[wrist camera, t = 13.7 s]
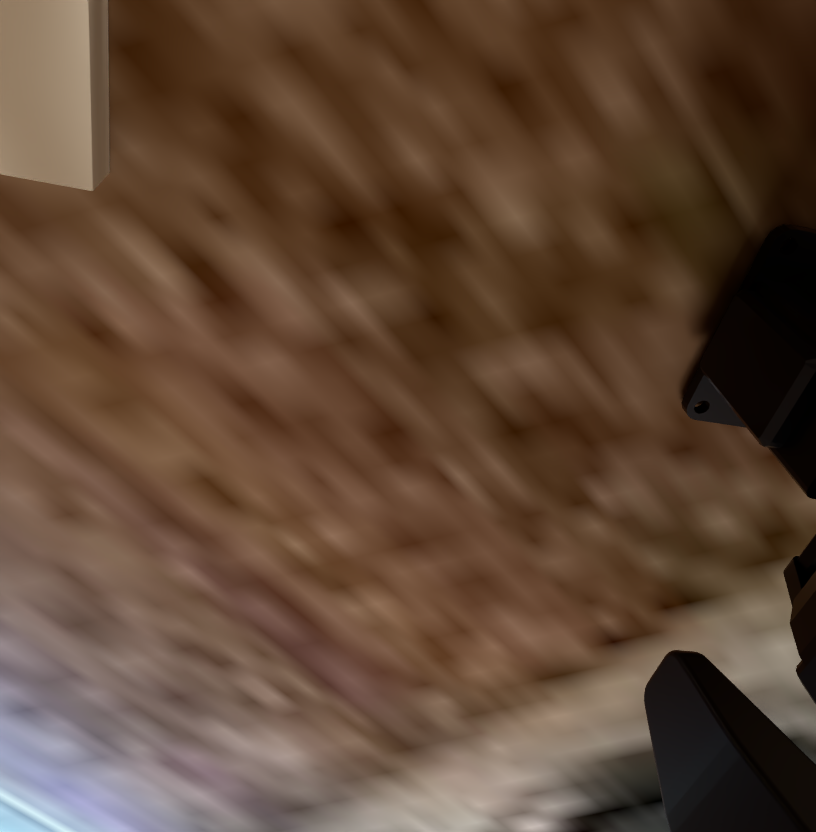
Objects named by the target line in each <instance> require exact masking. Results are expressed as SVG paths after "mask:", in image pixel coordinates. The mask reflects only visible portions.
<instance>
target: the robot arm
mask: <svg viewBox="0 0 816 832" xmlns="http://www.w3.org/2000/svg"><path fill="white" fill-rule="evenodd" d="M788 238H791V240H790V243H789V244H788V246H787V247H785V248H784V249H782V250H780V246H781V244H782V243H783V242H784V241H785V240H787V239H788ZM700 401H704V402H703V403H702V404H701V405H699V406H697V407H695V405H696V404H697V403H698V402H700ZM682 408H683V409H684V411H685V412H686V413H687V415H688V416H689V417H690V418H692V419H694V420H700V421H707V422H714V423H720V424H727V425H734V426H740V427H747V429H748V430H749V431H750V432H751V434H752V435H753V436H754V437H755V439H756V440H757V441H758V442H759V444H760V445H762V446H764V447H768V448H769V450H770V451H771V452H772V453H773V455H774V456H775V457H776V458H777V460H778V461H779V462H780V463H781V464H782V466H783V467H784V468H785V469H786V471H787V472H788V473H789V474H790V476H791V477H792V478H793V479H794V480H795V482H796V483H797V484H798V485H799V487H800V488H801V489H802V490H803V492H804V493H805V494H806V495H807V496H808V497H809V498H812V499H816V230H814V229H809V228H804V227H800V226H795V225H782V226H779V227H777V228H775V229H774V230H773V231H771V232H770V234H769V235H768V236H767V238H766V239H765V241H764V243H763V245H762V247H761V249H760V251H759V253H758V255H757V257H756V259H755V261H754V263H753V264H752V266H751V268H750V270H749V272H748V274H747V276H746V278H745V280H744V282H743V284H742V286H741V288H740V290H739V291H738V293H737V294H736V295H735V296H734V298H733V300H732V302H731V303H730V305H729V307H728V309H727V311H726V313H725V315H724V317H723V319H722V321H721V323H720V325H719V327H718V329H717V331H716V332H715V334H714V336H713V338H712V340H711V342H710V344H709V346H708V348H707V350H706V352H705V354H704V356H703V358H702V359H701V361H700V367H699V368H698V370H697V372H696V374H695V376H694V378H693V380H692V382H691V384H690V386H689V388H688V390H687V392H686V394H685V395H684V397H683V400H682ZM784 577H785V581H786V584H787V588H788V592H789V596H790V600H791V603H792V613H791V619H790V626H791V629H792V632H793V636H794V639H795V643H796V646H797V649H798V653H799V656H800V658H801V659H802V661H801V662H800V663H799V664H798V665H797V668H796V672H797V675H798V677H799V679H800V681H801V683H802V684H803V686H804V687H805V689H806V690H807V692H808V694H809V695H810V697H811V698H812V700H813V701H814V703H815V704H816V534H815V536H814V537H813V538H812V540H811V541H810V543H809V544H808V545H807V547H806V548H805V549H804V551H803V552H802V553H801V555H800V556H795V557H794V558H793V559H792V560H791V562H790V563H789V564H788V566H787V567H786V568H785V570H784ZM644 702H645V709H646V714H647V720H648V725H649V730H650V736H651V741H652V746H653V752H654V757H655V763H656V768H657V773H658V779H659V784H660V790H661V795H662V800H663V804H664V809H665V814H666V818H667V822H668V825H669V829H670V832H816V764H815V763H813V762H812V761H811V760H810V759H809V758H808V757H807V756H806V755H805V754H804V753H803V752H802V751H801V750H800V749H799V748H798V747H797V746H796V745H795V744H794V743H793V742H792V741H791V740H790V739H789V738H788V737H787V736H786V735H785V734H784V733H783V732H782V731H781V730H780V729H779V728H778V727H777V726H776V725H775V724H774V723H773V722H772V721H771V720H770V719H769V718H768V717H766V716H765V715H764V714H763V713H762V712H761V711H760V710H759V709H758V708H757V707H756V706H755V705H754V704H753V703H752V702H751V701H750V700H749V699H748V698H747V697H746V696H745V695H744V694H743V693H742V692H741V691H740V690H739V689H738V688H737V687H736V686H735V685H734V684H733V683H732V682H731V681H730V680H729V679H728V678H727V677H726V676H725V675H724V674H723V673H722V672H720V671H719V670H718V669H717V668H716V667H715V666H714V665H713V664H712V663H711V662H710V661H709V660H708V659H707V658H706V657H705V656H704V655H702V654H700V653H698V652H692V651H680V650H673V651H671V652H669V653H668V654H667V655H666V656H665V657H664V659H663V660H662V662H661V663H660V665H659V666H658V668H657V669H656V671H655V672H654V674H653V675H652V677H651V678H650V680H649V681H648V683H647V685H646V688H645V694H644Z"/></svg>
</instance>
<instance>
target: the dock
mask: <svg viewBox="0 0 816 832" xmlns="http://www.w3.org/2000/svg"><path fill="white" fill-rule="evenodd" d="M109 173H110V150H109V55H108V0H0V174H2V175H8V176H13V177H19V178H24V179H30V180H35V181H40V182H46V183H51V184H57V185H62V186H68V187H73V188H78V189H84V190H89V191H93V190H94V189H95V188H96V187H97V186H98V185H99V184H100V183H101V182H102V181H103V179H104V178H105V177H106V176H107V175H108V174H109Z"/></svg>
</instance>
